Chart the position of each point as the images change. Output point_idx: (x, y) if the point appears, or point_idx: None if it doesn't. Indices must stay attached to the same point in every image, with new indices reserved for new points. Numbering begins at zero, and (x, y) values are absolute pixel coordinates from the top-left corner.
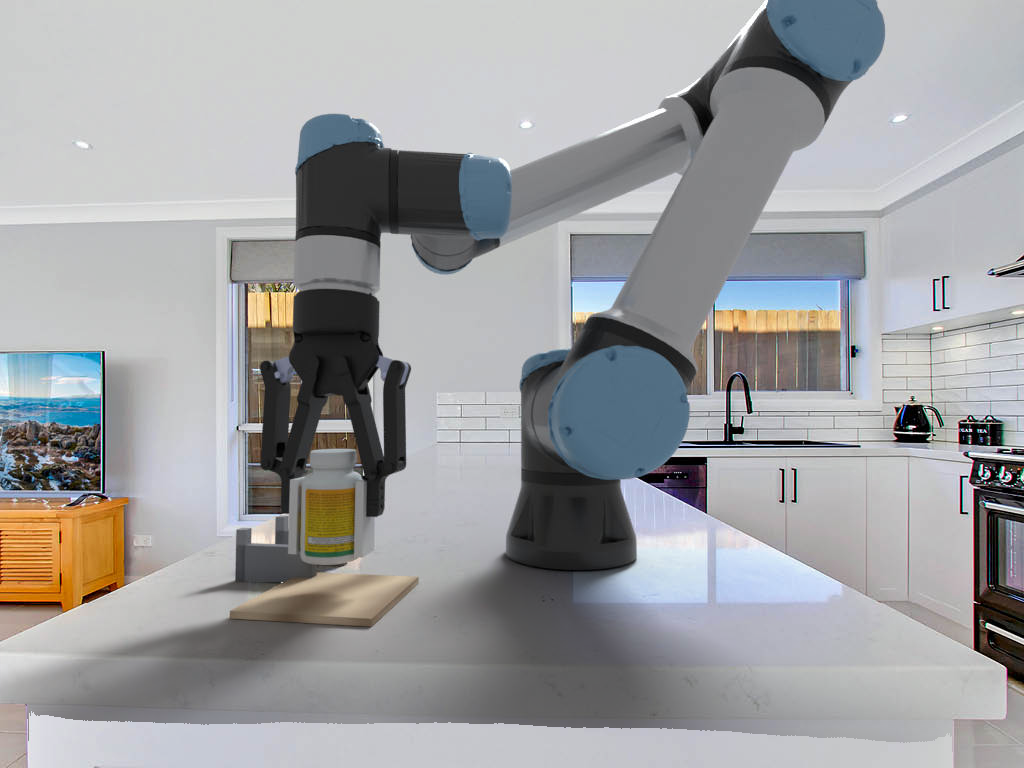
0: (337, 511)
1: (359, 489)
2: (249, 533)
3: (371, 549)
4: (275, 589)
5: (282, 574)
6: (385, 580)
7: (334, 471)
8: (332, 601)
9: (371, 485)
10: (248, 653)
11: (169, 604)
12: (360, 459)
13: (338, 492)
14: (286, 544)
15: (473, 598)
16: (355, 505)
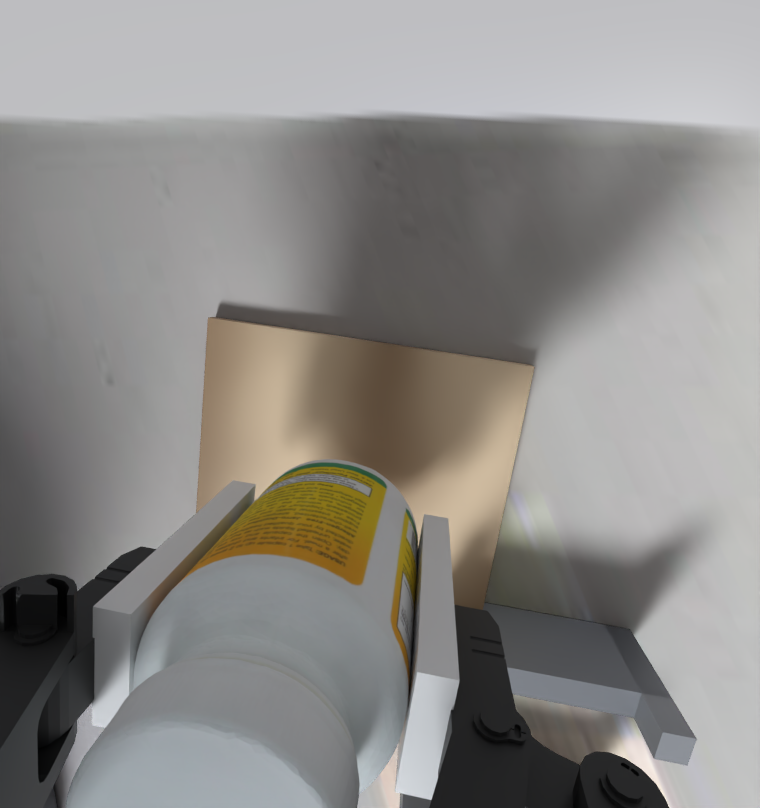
0: (247, 523)
1: (134, 589)
2: (650, 736)
3: None
4: (488, 519)
5: (509, 620)
6: None
7: (205, 652)
8: (326, 430)
9: (84, 618)
10: (407, 166)
11: (717, 463)
12: (33, 701)
13: (213, 557)
14: (521, 695)
15: (62, 489)
16: (185, 557)
